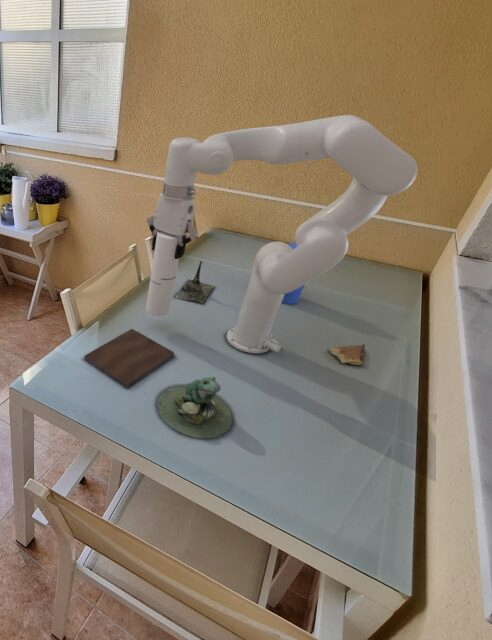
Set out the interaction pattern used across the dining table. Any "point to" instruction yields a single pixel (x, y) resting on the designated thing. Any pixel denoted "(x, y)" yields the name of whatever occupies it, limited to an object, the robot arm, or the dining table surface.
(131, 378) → the board
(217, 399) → the frog figurine
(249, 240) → the dining table surface
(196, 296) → the eiffel tower figurine
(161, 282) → the cylindrical container
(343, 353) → the shard
